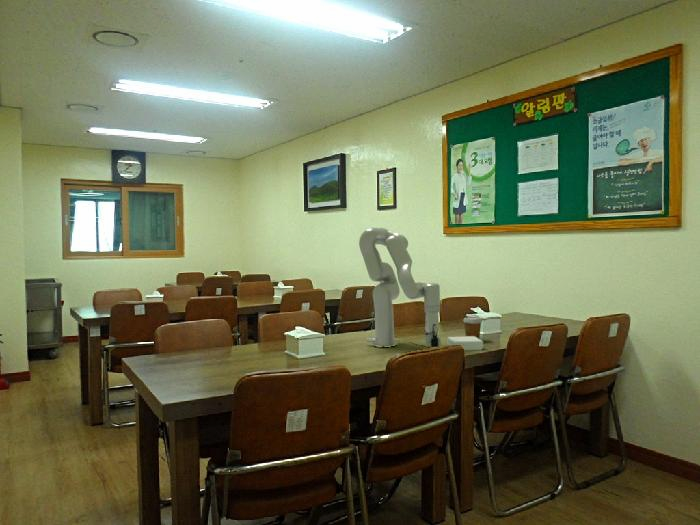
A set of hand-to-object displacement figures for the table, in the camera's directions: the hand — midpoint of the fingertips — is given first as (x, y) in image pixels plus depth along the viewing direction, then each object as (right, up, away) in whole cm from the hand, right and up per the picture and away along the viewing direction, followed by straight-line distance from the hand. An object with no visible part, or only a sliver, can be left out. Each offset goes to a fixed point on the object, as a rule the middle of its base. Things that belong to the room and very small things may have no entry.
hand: (432, 344), depth 257 cm
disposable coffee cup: (+23, -1, +18) cm, 30 cm away
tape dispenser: (0, -2, 0) cm, 2 cm away
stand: (+16, -2, +3) cm, 16 cm away
